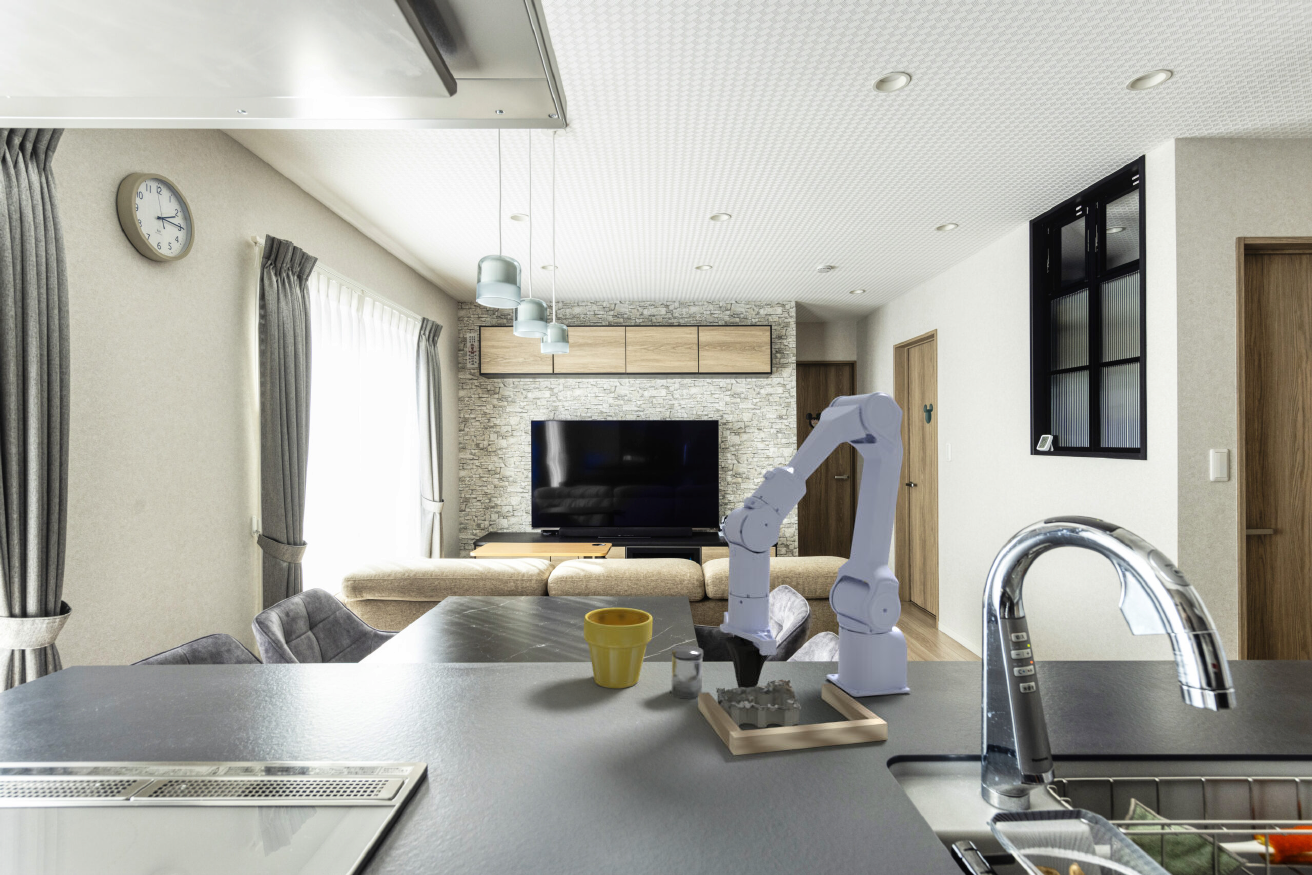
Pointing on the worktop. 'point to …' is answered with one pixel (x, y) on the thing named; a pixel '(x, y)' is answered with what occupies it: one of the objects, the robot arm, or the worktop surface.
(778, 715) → the egg carton
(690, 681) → the jar with metallic lid
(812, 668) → the worktop surface
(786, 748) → the beech bay
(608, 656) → the plant pot
